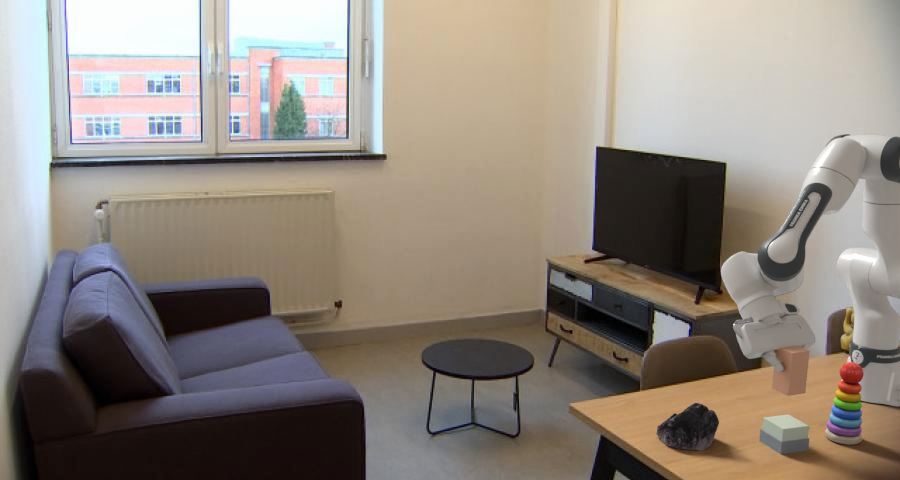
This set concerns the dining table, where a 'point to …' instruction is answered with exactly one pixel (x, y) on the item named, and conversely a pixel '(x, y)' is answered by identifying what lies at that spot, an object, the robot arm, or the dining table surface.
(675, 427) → the crystal cluster
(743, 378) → the dining table surface
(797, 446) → the two-tone pastel block
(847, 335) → the decorative figurine
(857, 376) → the stacking toy
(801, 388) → the terracotta brick
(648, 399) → the dining table surface
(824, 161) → the robot arm
